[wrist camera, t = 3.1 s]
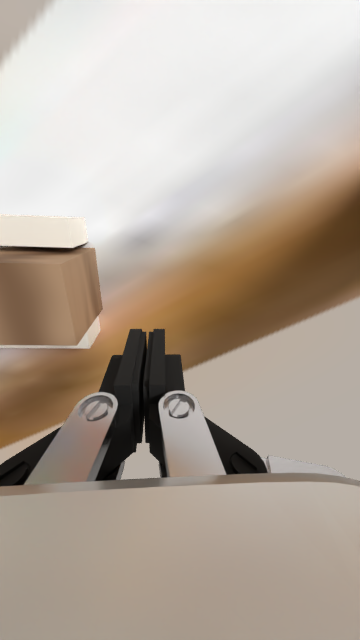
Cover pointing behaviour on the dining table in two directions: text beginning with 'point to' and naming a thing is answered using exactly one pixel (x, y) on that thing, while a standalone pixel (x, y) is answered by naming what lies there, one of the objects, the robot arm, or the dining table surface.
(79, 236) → the chute rail
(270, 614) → the robot arm
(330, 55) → the dining table surface
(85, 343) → the chute rail
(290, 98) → the dining table surface
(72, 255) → the walnut block
